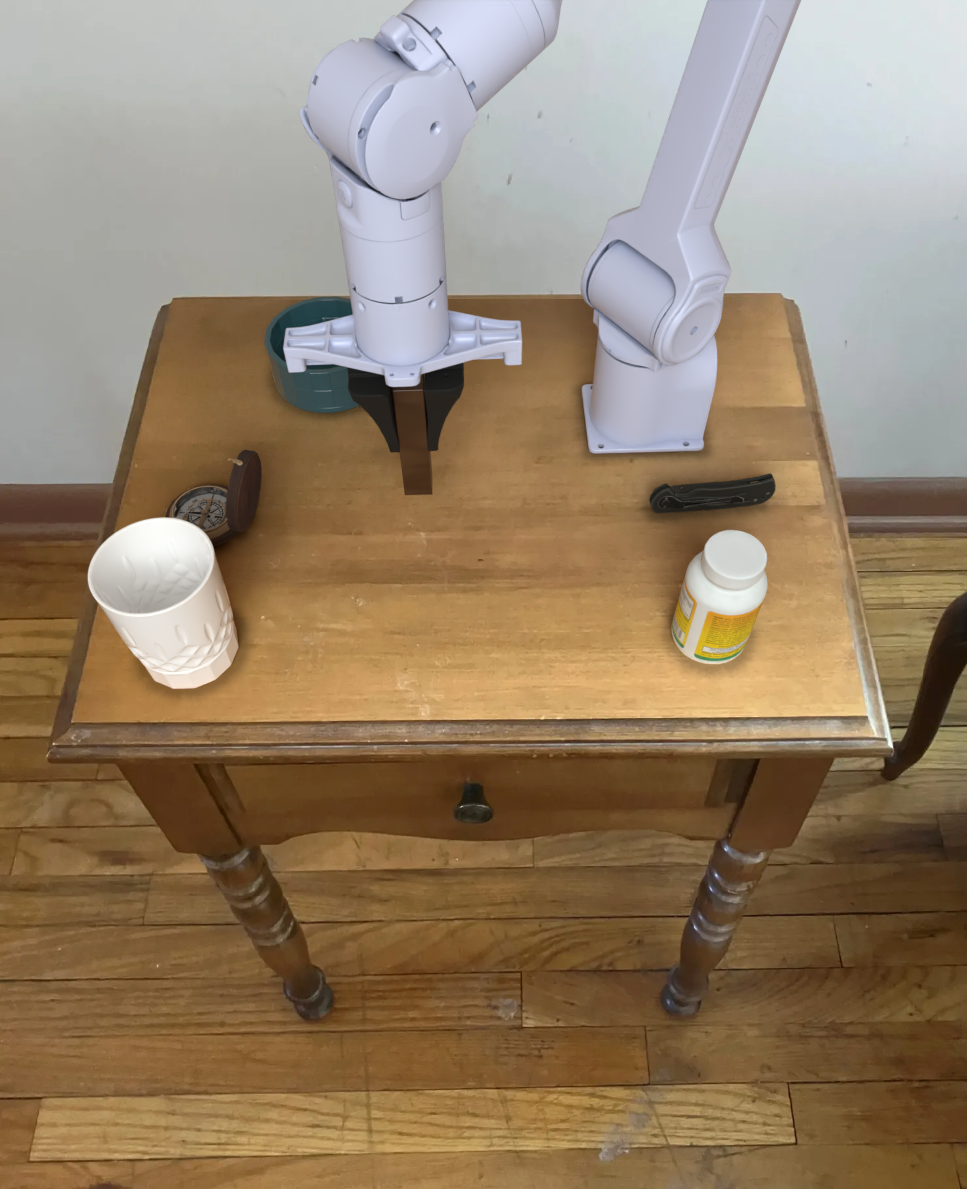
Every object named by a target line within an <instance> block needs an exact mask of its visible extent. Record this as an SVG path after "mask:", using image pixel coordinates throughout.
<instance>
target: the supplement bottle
mask: <svg viewBox="0 0 967 1189" xmlns="http://www.w3.org/2000/svg"><path fill="white" fill-rule="evenodd" d="M767 562H768V554H767V551H766V548H765V546H764V544H763V543H762V542H761V540H759V539H758V538H757V537H756V536H754V535H752V534H750V533H748V532H746V531H743V530H737V529H725V530H721V531H718V532H715V533H714V534H713V535H711V536H710V537H709V538H708V540H706V543H705V544H704V547H703V550H702V551H700V552H698V553H697V554H696V555H695V556H694V557H693V558H692V559H691V561H690V562H689V564H688V566H687V568H686V571H685V574H684V578H683V582H682V585H681V589H680V592H679V596H678V600H677V603H676V607H675V610H674V613H673V617H672V621H671V627H670V629H671V635H672V639H673V642H674V645H675V646H676V647H677V649H678V650H679V651H680V652H681V653H682V654H683V655H684V656H685V657H687V658H689V659H690V660H693V661H695V662H697V663H700V664H704V665H705V664H706V665H722V664H726V663H729V662H731V661H733V660H735V659H736V658H737V657H738V656H740V655H741V653H742V652H743V651H744V649H745V647H746V645H747V643H748V640H749V638H750V636H751V633H752V631H753V628H754V625H755V623H756V621H757V618H758V616H759V613H760V611H761V609H762V605H763V603H764V600H765V598H766V595H767V593H768V585H769V584H768V582H769V581H768V577H767V576H768V575H767V573H766V571H765V570H766V566H767Z"/></svg>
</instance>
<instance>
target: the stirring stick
mask: <svg viewBox="0 0 967 1189" xmlns="http://www.w3.org/2000/svg"><path fill="white" fill-rule="evenodd" d="M392 392H393V401H394V409H395V418H396V426H397V434H398V441H399V448H400V452H399V459H400V467H401V475H402V476H401V477H402V483H403V492H404V496H425V495H426V496H427V495H433V466H432V454H431V453H432V451H428V446H427V408H426V400H425V393H424V374H422V375H421V377H420V383H419V384H417V385H416V386H408V387H392Z"/></svg>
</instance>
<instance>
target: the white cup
mask: <svg viewBox="0 0 967 1189" xmlns="http://www.w3.org/2000/svg"><path fill="white" fill-rule="evenodd" d="M87 569H88V570H87V583H88V588H89V590H90V593H91V595H92V597H93V598H94V600H95V601H96V603H97V604H98V605H99V607H100V608H101V610H102V611H103V613H104V614H105V616H106V618H107V619H108V621H109V622H110V623H111V625H112V626H113V627H114V629H115V630H116V632H117V634H118V635H119V636H120V638H121V639H122V641H123V642H124V644H125V645H126V646H127V648H128V649H129V650H130V652H131V653H132V655H133V656H134V657H135V658H136V659H138V660H139V661H140V663H141V665H143V667H144V668H145V670H146V671H147V672H148V674H149V675H150V677H151V678H152V679H153V681H154V682H156V683H158V684H161V685H163V686H165V687H168V688H170V689H172V690H180V689H181V690H185V689H197V688H199V687H202V686H204V685H206V684H209V683H211V682H213V681H214V682H215V681H216V680H217V679H218V678H219V677H221V676H222V674H224V673H225V672H226V671H227V670H228V669H229V668H230V667H231V666H232V665H233V662H234V659H235V657H236V654H237V653H238V650H239V639H238V629H237V626H236V623H235V620H234V615H233V609H232V605H231V602H230V598H229V593H228V591H227V588H226V584H225V581H224V577H223V574H222V571H221V569H220V565H219V562H218V558H217V555H216V552H215V548H214V547H213V545H212V543H211V541H210V539H209V537H208V536H207V535H206V533H205V532H204V531H203V530H202V529H200V528H199V527H198V526H196V525H194V524H192V523H190V522H188V521H185V520H181V519H177V518H168V517H165V516H164V517H163V516H161V517H152V518H146V519H142V520H139V521H135V522H133V523H130V524H128V525H126V526H124V527H122V528H120V529H119V530H117V531H115V532H114V533H113V534H111V535H110V536H108V538H106V540H105V541H104V542H102V543H101V545H100V546H99V547H98V548H97V549H96V551H95V552H94V554H93V556H92V558H91V560H90V562H89V566H88V568H87Z"/></svg>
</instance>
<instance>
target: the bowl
mask: <svg viewBox="0 0 967 1189" xmlns="http://www.w3.org/2000/svg"><path fill="white" fill-rule="evenodd" d="M349 315H353V313H352V306H351V300H350V298H347V297H342V296H337V295H335V296H316V297H312V298H307V299H303V300H300V301H298V302H295V303H294V304H293V303H292V304H291V305H288V306H287V307H285V308H283V309H282V310H281V311H279V312H278V313H277V314H276V315H275V316H274V317H272V319H271V321H270V322H269V324H268V325H267V326H266V328H265V334H264V341H263V343H264V347H265V351H266V355H267V359H268V364H269V367H270V371H271V372H270V373H271V376H272V379H273V382H274V386H275V388H276V391H277V392H278V394H279V396H280V397H281V398H282V399H283V400H284V401H285V402H287V403H288V404H290V405H291V406H292V407H295V408H297V409H299V410H302V411H306V412H311V413H316V414H317V413H318V414H333V413H340V412H345V411H349V410H352V409H354V408H357V407H360V405H359V404H357V403H356V402H354V401H353V399H352V397H351V395H350V393H349V390H348V369H347V367H344V366H339V365H335V364H325V365H306V367H307V368H306V370H305V371H304V372H293V373H290V372H288V367H287V363H286V359H285V354H284V350H283V346H284V339H285V331H286V328H296V327H304V326H310V325H315V324H319V323H323V322H326V321H330V320H334V319H338V318H342V317H346V316H349Z"/></svg>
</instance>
